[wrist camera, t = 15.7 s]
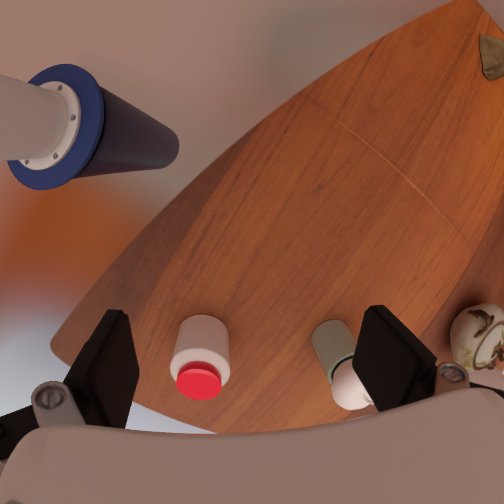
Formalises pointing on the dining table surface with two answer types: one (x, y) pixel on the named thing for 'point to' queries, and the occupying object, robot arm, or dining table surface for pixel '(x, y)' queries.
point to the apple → (349, 388)
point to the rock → (492, 56)
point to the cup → (333, 345)
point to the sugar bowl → (478, 337)
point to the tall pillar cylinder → (488, 378)
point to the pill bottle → (201, 357)
